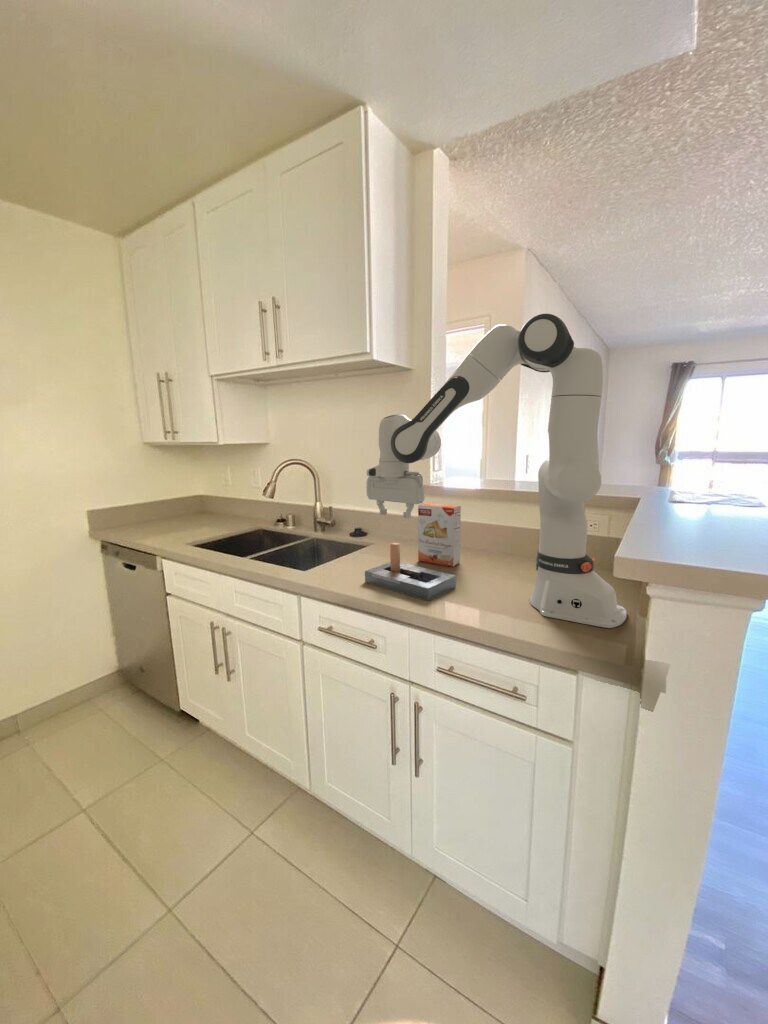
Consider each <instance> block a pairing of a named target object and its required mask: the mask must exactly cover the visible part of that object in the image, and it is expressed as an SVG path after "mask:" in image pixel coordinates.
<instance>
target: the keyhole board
mask: <svg viewBox="0 0 768 1024" xmlns="http://www.w3.org/2000/svg"><path fill="white" fill-rule="evenodd" d="M400 573H401V574H399V573H395V572H392V571H391V565H390V561H389V562H387V563H384V564H381V565H379V566H376V567H372V568H370V569H366V570H365V571H364V582H365V584H366V583H367V584H370V585H372V586H376V587H379V588H383V589H385V590H386V589H388V590H390V591H394V592H397V593H399V594H403V595H407V596H409V597H414V598H417V599H419V600H422V601H427V602H429V601H431V600H434V599H435V598H438V597H439V596H442V595H443V594H445V593H447V592H449V591H451V590H452V589H455V588H456V585H457V575H455V574H451V573H447V572H442V571H439V570H434V569H430V568H426V567H421V566H417V565H413V564H411V563H410V564H409V563H404V562H401V561H400Z"/></svg>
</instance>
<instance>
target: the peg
mask: <svg viewBox="0 0 768 1024" xmlns="http://www.w3.org/2000/svg"><path fill="white" fill-rule="evenodd" d="M389 546H390V547H389V549H390V550H389V551H390V555H389V558H390V559H389V560H390V561H389V562H390V565H391V571H392V572H395V573H399V574H401V573H400V562H401V543H398V542H391V543H390V545H389Z"/></svg>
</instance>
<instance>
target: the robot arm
mask: <svg viewBox="0 0 768 1024" xmlns="http://www.w3.org/2000/svg"><path fill="white" fill-rule="evenodd" d="M518 365H521V366H523V367H525V368H528V369H530V370H533V371H535V372H538V373H550V374H551V377H552V387H551V388H552V389H551V390H552V391H551V398H550V406H549V415H548V416H549V417H548V425H547V434H548V445H549V446H548V449H549V451H548V452H549V453H548V454H549V457H548V458H547V459H546V460H545V461H543V462H542V463H541V465H540V467H539V469H538V473H537V478H538V479H537V480H538V506H539V507H538V508H539V517H540V518H539V519H540V520H539V521H540V522H539V542H538V543H539V545H538V550H537V552H536V559H535V560H536V561H535V567H536V568H535V569H536V577H535V583H534V587H533V590H532V593H531V597H530V599H529V603H530V605H531V606H532V607H533V608H535V609H537V610H538V611H539V613H540V614H541V615H542V616H544V617H548V618H553V619H557V620H563V621H569V622H574V623H579V624H585V625H589V626H594V627H601V628H605V629H613V628H616V627H619V626H621V625H622V624H623V623H624V622H625V621H626V620H627V615H628V614H627V609H626V608H625V607H623V606H622V605H619V604H618V599H617V593H616V590H615V588H614V587H613V586H612V585H611V584H609V583H608V582H607V581H606V580H604V578H602V577H601V576H600V575H598V573H596V572H595V571H594V568H595V566H594V564H595V560H596V558H595V557H593V558H591V557H590V556H589V555H587V538H588V529H589V527H588V520H587V517H586V511H585V510H586V509H585V503H584V502H588V501H591V499H593V498H594V497H595V496H596V495H597V494H598V492H600V489H601V486H602V476H601V475H602V474H601V473H600V468H599V467H600V466H599V462H600V461H599V460H600V459H599V444H598V443H599V442H598V441H599V440H598V436H599V435H598V430H599V420H600V412H601V411H600V410H601V405H602V397H603V395H602V394H603V386H604V385H603V384H604V371H603V368H604V367H603V359H602V356H601V354H600V353H599V352H598V351H596V350H594V349H592V348H587V347H575V342H574V339H573V338H572V335H571V334H570V331H569V329H568V326H567V325H566V324H565V322H564V321H563V320H562V319H561V318H560V317H559V316H557V315H555V314H552V313H540V314H537V315H535V316H532V317H531V318H530V319H528V320H527V321H526V322H525V323H524V324H523V326H522V328H521V329H520V330H517V328H515V327H513V326H512V325H509V324H505V323H504V324H503V323H502V324H497V325H495V326H493V328H491V330H489V331H488V332H487V333H486V334H484V336H482V337H481V339H480V340H479V341H477V343H476V344H475V345H474V346H473V347H472V349H471V350H470V351H469V352H468V353H467V354H466V356H465V357H463V360H462V361H461V362H460V363H459V364H458V366H457V367H456V369H455V370H454V371H453V373H452V374H451V375H450V376H449V378H448V379H447V380H446V381H445V383H444V384H443V386H442V387H440V388H439V390H438V391H437V392H436V393H435V394H434V395H433V396H432V397H431V399H430V400H429V401H428V402H427V403H426V404H425V405H424V406H423V407H422V409H421V410H420V411H419V412H418V413H417V414H416V415H415V416H414V417H413V418H412V419H411V418H409V417H408V416H407V415H405V414H403V413H401V414H398V413H397V414H392V415H388V416H385V417H384V418H382V419H381V420H380V423H379V427H378V428H379V429H378V449H379V460H378V464H377V465H375V466H373V467H370V468H368V469H366V476H367V479H366V496H367V498H368V499H369V500H372V501H376V505H377V507H378V509H379V515H380V516H387V514H388V509H387V508H385V502H390V503H401V504H405V507H406V510H405V511H403V515H402V516H403V518H404V519H410V518H411V516H412V511H413V510H414V507H415V505H419V504H423V503H424V501H425V489H424V479H423V476H422V474H420V472H419V471H411V470H410V464H413V463H416V462H418V461H424V460H426V459H427V460H428V459H431V458H433V457H434V456H435V455H437V454H438V452H439V451H440V448H441V445H442V441H441V440H442V439H441V435H440V434H439V432H438V431H437V430H438V429H439V428H440V427H441V426H442V425H443V423H444V422H445V421H446V420H447V419H448V418H449V417H450V416H451V415H453V413H454V412H455V411H456V410H458V409H460V408H461V407H463V406H466V405H468V404H470V403H471V404H472V403H473V402H477V401H480V400H482V399H483V398H484V397H486V396H487V395H489V394H490V393H491V392H492V390H494V389H495V388H496V387H497V386H498V384H499V383H500V382H501V381H502V380H503V379H504V377H505V376H506V375H508V373H509V372H510V371H511V370H512V369H513V368H514V367H515V366H518Z"/></svg>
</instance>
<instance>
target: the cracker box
mask: <svg viewBox="0 0 768 1024" xmlns="http://www.w3.org/2000/svg"><path fill="white" fill-rule="evenodd" d="M417 505H418V506H417V514H418V515H417V516H418V517H417V518H418V520H417V525H418V527H417V532H418V533H417V539H418V540H417V546H418V547H417V549H418V550H417V555H418V558H417V560H418V561H419V562H425V563H428V564H429V563H430V564H434V565H439V566H440V565H441V566H446V567H451V568H453V567H455V566H457V565H458V564H460V563H461V562H460V561H461V519H462V518H461V511H462V509H461V507H462V506H461V505H456V504H455V505H453V504H445V503H435V502H434V503H433V502H423V503H420V504H417Z"/></svg>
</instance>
